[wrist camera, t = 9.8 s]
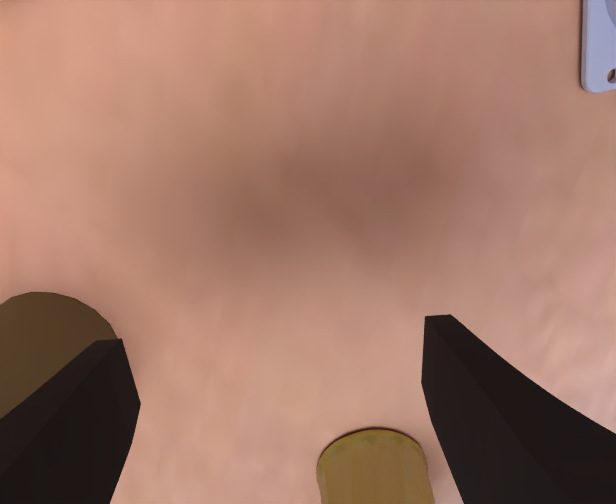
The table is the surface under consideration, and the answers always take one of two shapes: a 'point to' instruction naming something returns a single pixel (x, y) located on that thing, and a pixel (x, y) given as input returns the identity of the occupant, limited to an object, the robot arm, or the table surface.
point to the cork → (42, 341)
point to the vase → (374, 470)
